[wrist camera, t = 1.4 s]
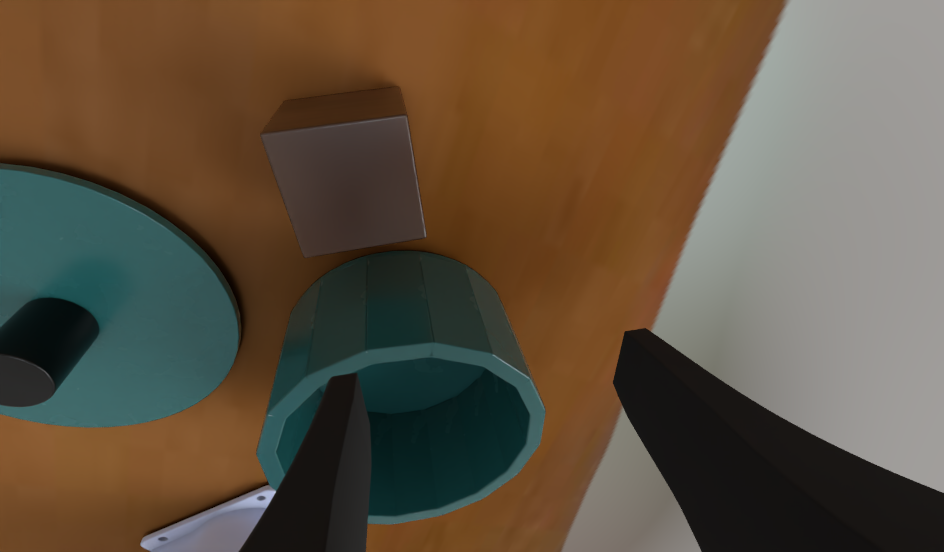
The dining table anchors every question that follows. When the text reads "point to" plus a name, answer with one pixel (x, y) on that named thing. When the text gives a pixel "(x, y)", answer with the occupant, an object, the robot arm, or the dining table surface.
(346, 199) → the block
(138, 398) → the lid
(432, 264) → the tin
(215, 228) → the dining table surface
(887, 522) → the robot arm
